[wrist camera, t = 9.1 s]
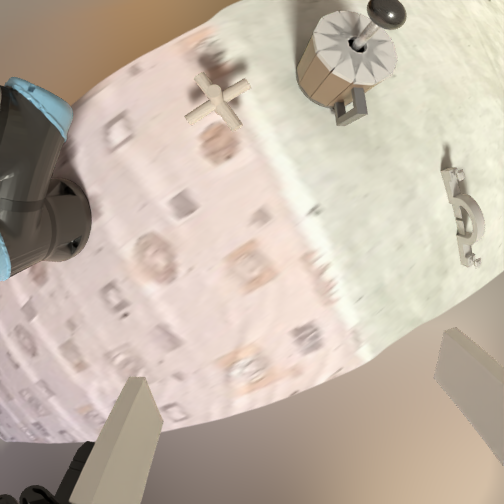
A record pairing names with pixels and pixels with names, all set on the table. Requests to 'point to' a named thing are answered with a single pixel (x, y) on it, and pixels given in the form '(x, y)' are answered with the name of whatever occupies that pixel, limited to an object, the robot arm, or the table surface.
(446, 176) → the gateway
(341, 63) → the wooden mug
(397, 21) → the plunger
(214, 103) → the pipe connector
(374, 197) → the table surface
